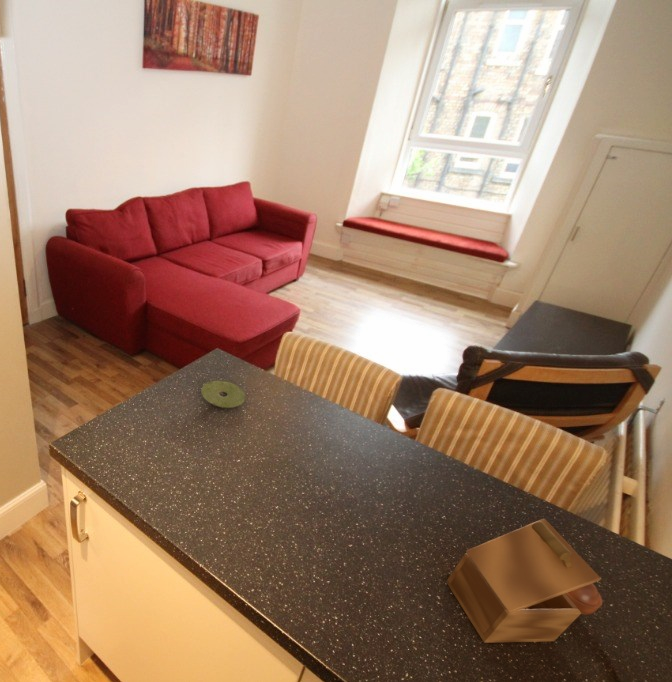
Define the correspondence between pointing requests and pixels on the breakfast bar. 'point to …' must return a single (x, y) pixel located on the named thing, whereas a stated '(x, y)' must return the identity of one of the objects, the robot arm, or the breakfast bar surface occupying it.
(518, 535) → the lid
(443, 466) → the breakfast bar surface
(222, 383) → the green disc with hole
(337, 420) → the breakfast bar surface
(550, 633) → the breadbox
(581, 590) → the mushroom
